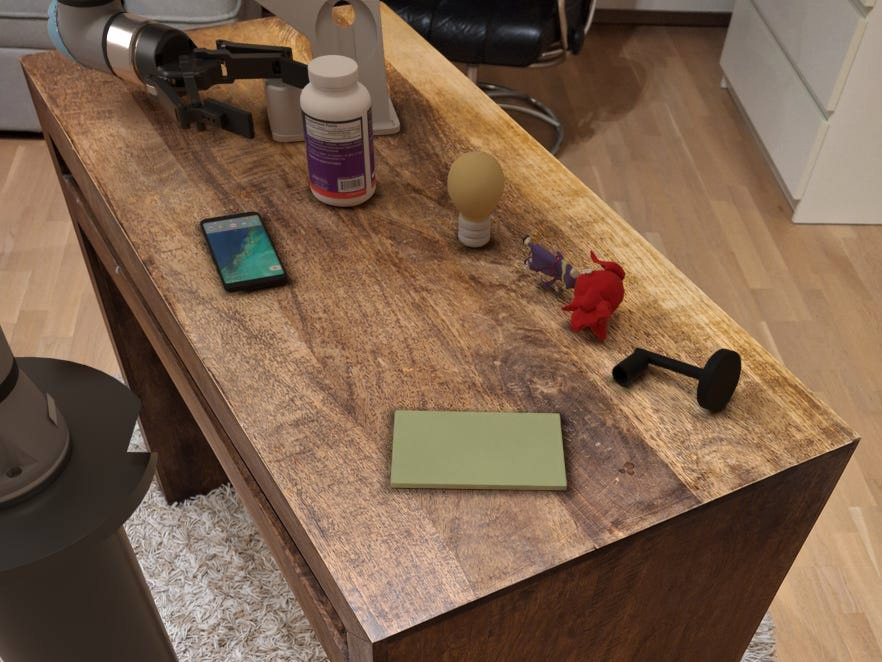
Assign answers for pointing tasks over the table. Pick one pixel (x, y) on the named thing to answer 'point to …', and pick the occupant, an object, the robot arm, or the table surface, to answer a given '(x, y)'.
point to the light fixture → (689, 374)
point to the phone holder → (310, 13)
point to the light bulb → (475, 194)
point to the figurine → (582, 287)
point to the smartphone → (243, 252)
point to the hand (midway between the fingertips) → (289, 104)
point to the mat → (477, 450)
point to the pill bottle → (338, 132)
